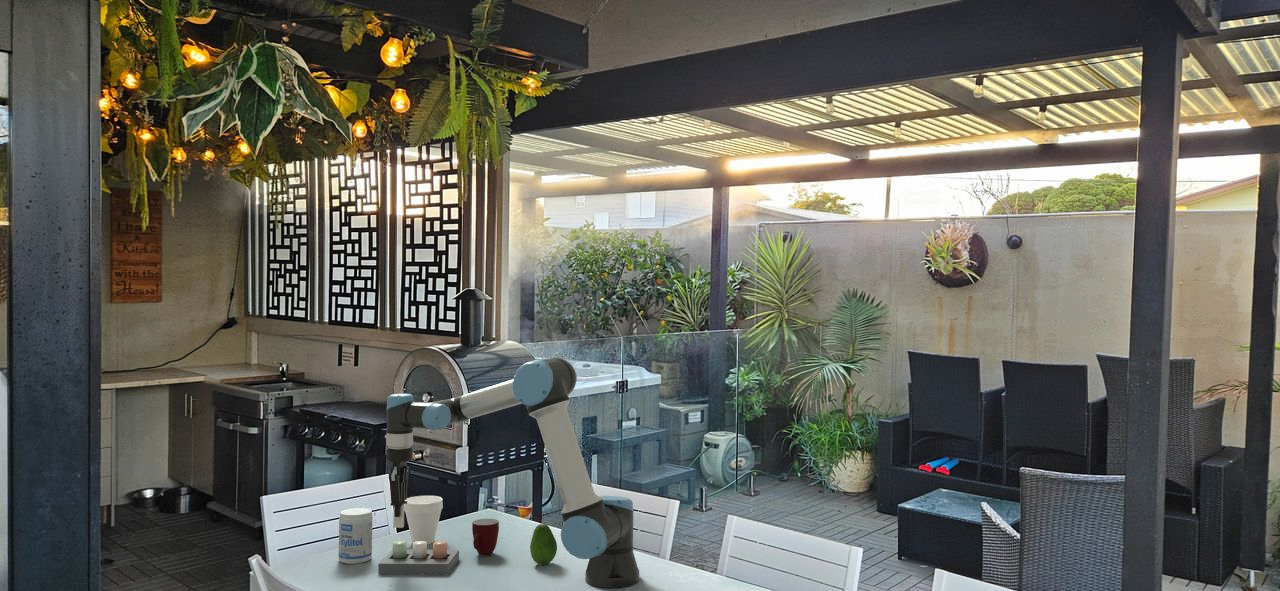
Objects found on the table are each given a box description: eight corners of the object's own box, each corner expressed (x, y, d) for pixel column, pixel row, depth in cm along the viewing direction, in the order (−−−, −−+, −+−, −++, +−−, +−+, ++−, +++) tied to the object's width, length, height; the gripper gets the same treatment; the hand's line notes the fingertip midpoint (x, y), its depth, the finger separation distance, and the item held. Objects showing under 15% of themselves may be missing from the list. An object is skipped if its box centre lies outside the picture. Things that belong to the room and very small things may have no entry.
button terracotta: (448, 554, 257) (448, 541, 257) (445, 558, 253) (445, 544, 253) (435, 554, 257) (434, 541, 257) (431, 558, 253) (431, 544, 253)
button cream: (428, 554, 257) (428, 541, 257) (424, 558, 253) (424, 544, 253) (415, 554, 257) (414, 540, 257) (411, 558, 253) (411, 544, 253)
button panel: (459, 559, 262) (459, 549, 262) (447, 574, 248) (447, 563, 248) (393, 559, 262) (393, 549, 262) (378, 574, 248) (378, 563, 248)
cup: (396, 545, 277) (396, 502, 278) (416, 535, 289) (416, 494, 289) (430, 548, 274) (430, 505, 274) (449, 538, 286) (449, 496, 286)
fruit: (562, 563, 258) (562, 523, 258) (545, 570, 252) (545, 528, 252) (542, 558, 263) (542, 519, 263) (524, 565, 256) (524, 524, 256)
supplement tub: (337, 566, 256) (338, 516, 256) (339, 557, 265) (339, 508, 265) (372, 563, 259) (372, 513, 259) (372, 554, 268) (372, 506, 268)
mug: (490, 561, 260) (490, 527, 260) (464, 559, 262) (464, 526, 262) (502, 551, 271) (502, 519, 271) (478, 549, 272) (478, 517, 272)
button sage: (408, 554, 257) (408, 540, 257) (404, 558, 253) (404, 544, 253) (394, 554, 257) (395, 540, 257) (390, 558, 253) (390, 544, 253)
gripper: (393, 442, 262) (392, 521, 262) (379, 450, 249) (378, 532, 249) (418, 443, 262) (417, 521, 262) (405, 450, 249) (404, 533, 249)
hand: (398, 526), depth 256 cm, fingers closed
